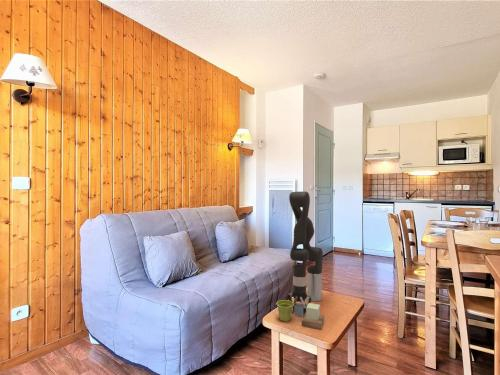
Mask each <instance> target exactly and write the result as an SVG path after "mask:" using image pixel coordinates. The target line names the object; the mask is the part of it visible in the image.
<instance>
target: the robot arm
mask: <svg viewBox="0 0 500 375" xmlns="http://www.w3.org/2000/svg"><path fill="white" fill-rule="evenodd" d="M288 200H289V204H290V207H291V211H292V212H293V215H294V218H295V220H296V223H295V225H294V228H293V242H292V246H291V249H290V253H289V257H290V259H291V260H292V261H295V262H301V263H299V264H294V265H293V269H292V271H293V274H292V275H293V277H292V292H291V293H290V292H289V293H288V294H287V299H288V300H289V301H292V302H293V303H294V305H293V308H292V313H294V306H295V304H296V303H298V302H299V303H301V304H302V305H303V307H304V314H305V312H306V307H307V305H308V303H312V302H320V301H322V299H323V271H322V270H323V258H324V253H323V249H322V247H317V246H312V245H311V244H310V243H311V241H312V239H313V237H314V234H315V228H314V223H313V221H312V219H311V218H310V217H309V211H310V203H311V197H310V193H309V192H307V191H291V192H290V193H289V197H288ZM301 208H302V209H301ZM300 245H302V248H299V247H298V246H300ZM308 262H314V263H315V264H313V265H312V264H311V265H309V266H307V264H308ZM292 297H293V298H292ZM306 300H307V301H308V302H306Z"/></svg>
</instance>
